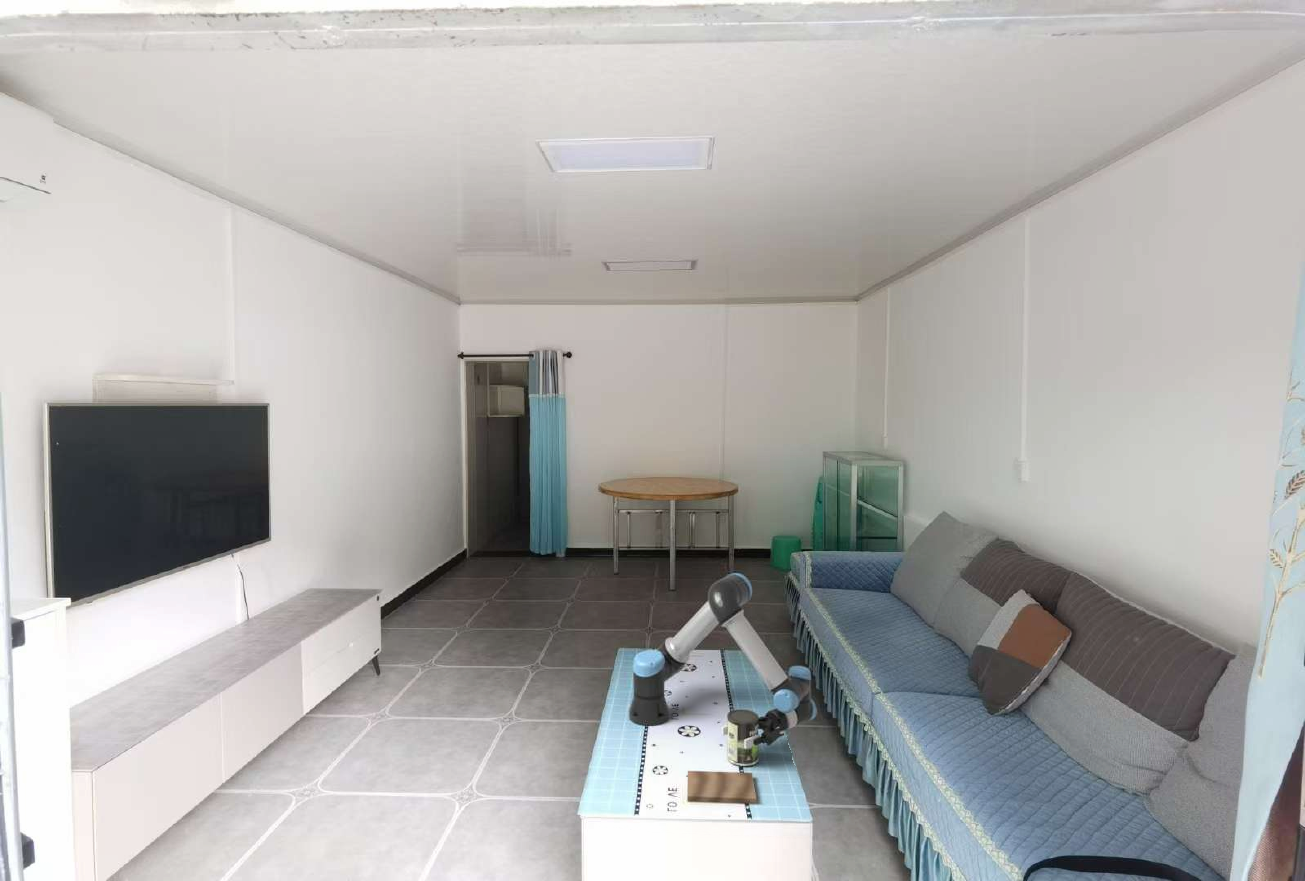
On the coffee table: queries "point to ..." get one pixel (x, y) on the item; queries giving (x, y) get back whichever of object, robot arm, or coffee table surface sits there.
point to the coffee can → (742, 737)
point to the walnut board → (721, 787)
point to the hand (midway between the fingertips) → (733, 737)
